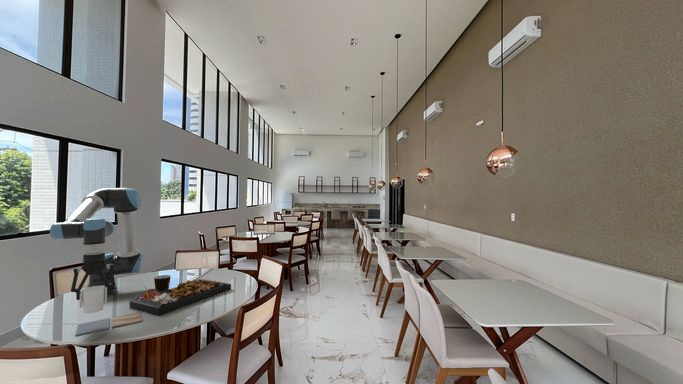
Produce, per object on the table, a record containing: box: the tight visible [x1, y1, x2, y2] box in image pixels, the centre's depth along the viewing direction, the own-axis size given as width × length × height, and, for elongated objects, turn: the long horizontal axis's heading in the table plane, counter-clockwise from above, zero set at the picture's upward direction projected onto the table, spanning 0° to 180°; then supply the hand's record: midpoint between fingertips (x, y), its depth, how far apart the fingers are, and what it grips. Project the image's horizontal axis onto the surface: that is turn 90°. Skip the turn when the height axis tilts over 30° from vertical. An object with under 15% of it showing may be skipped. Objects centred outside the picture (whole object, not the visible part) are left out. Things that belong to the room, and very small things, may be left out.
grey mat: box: [75, 317, 110, 337], centre depth 130 cm, size 13×11×1 cm
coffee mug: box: [153, 274, 171, 292], centre depth 178 cm, size 12×9×10 cm
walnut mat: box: [111, 311, 143, 329], centre depth 138 cm, size 13×11×1 cm
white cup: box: [81, 286, 105, 315], centre depth 130 cm, size 8×8×10 cm
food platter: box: [129, 278, 232, 317], centre depth 168 cm, size 45×25×10 cm, turn 154°
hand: (93, 304), depth 130 cm, fingers closed on white cup, 8 cm apart
